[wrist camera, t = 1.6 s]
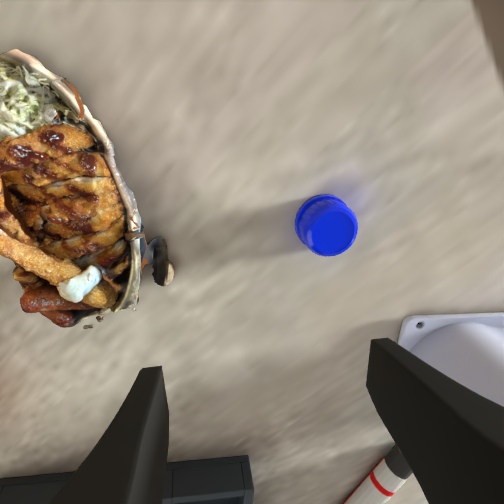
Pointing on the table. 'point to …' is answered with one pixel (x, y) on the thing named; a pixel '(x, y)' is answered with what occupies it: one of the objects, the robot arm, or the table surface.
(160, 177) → the table surface
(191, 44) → the table surface
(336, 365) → the table surface
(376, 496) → the marker
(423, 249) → the table surface
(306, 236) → the bottle cap
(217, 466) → the grid
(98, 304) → the brown lumpy food piece
